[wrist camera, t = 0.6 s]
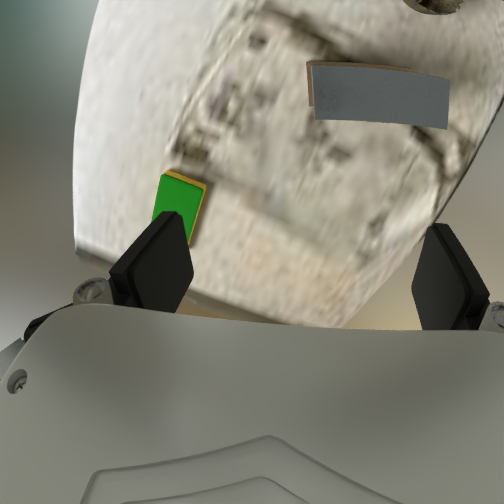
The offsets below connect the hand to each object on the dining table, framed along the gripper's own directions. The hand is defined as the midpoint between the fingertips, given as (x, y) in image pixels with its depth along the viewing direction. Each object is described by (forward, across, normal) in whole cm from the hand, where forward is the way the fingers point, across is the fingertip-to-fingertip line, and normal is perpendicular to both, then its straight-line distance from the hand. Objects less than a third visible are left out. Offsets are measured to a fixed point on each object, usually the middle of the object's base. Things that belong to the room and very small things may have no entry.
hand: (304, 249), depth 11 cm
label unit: (+31, -7, -5) cm, 32 cm away
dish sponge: (+32, +22, +15) cm, 42 cm away
